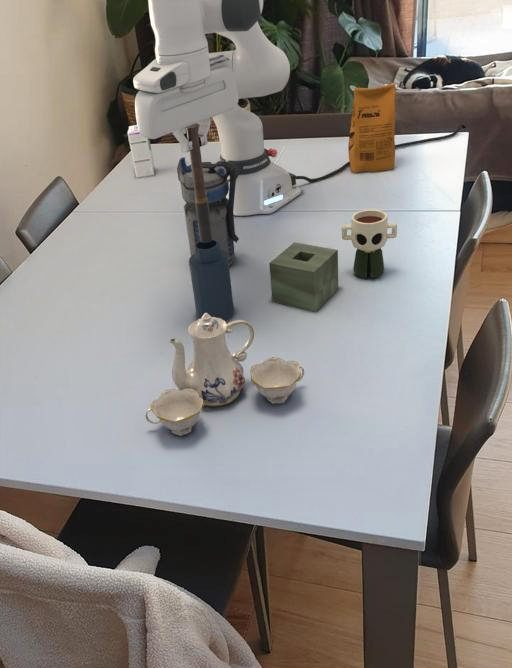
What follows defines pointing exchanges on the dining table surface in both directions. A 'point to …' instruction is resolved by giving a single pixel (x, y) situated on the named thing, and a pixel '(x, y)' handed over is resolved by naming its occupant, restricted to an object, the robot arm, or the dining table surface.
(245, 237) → the dining table surface
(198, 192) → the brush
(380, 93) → the coffee package
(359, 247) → the character mug
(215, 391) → the chinaware
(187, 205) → the beverage bottle
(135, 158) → the syrup box
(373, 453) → the dining table surface
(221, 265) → the steel bottle
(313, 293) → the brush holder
